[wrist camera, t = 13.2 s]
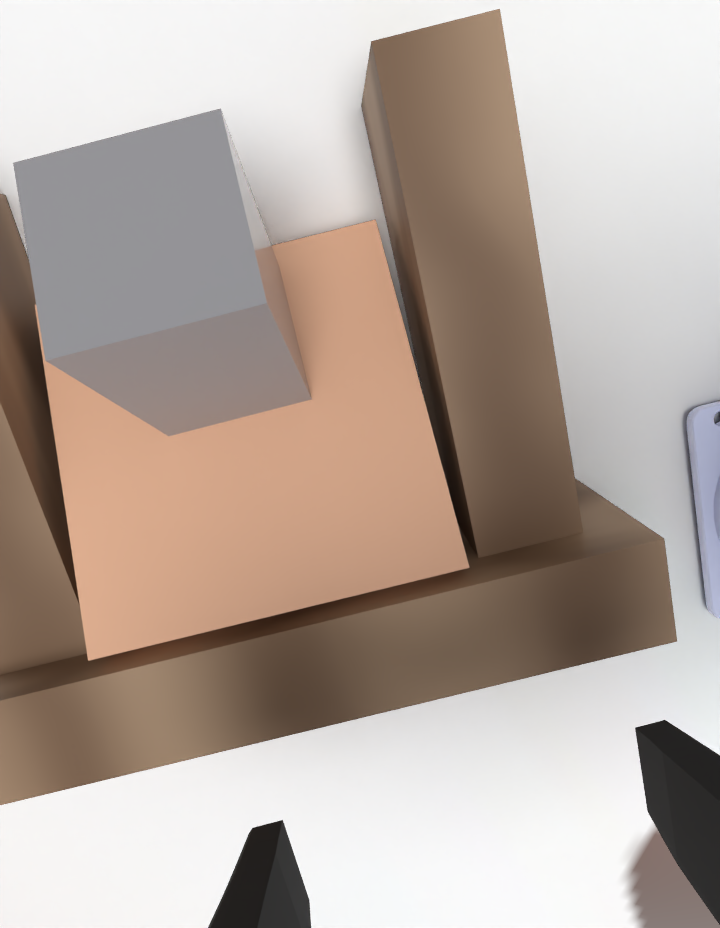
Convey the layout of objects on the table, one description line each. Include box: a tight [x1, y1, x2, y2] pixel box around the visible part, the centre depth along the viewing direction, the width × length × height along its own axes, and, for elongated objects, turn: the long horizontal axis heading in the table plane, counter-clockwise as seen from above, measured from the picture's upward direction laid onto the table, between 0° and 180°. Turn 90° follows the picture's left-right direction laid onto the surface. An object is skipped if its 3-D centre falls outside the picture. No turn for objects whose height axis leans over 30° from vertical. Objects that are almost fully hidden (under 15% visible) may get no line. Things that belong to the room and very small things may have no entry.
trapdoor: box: [35, 220, 469, 661], centre depth 17 cm, size 10×10×1 cm
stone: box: [13, 109, 312, 436], centre depth 14 cm, size 4×4×6 cm
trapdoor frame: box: [0, 9, 677, 805], centre depth 17 cm, size 20×16×6 cm
